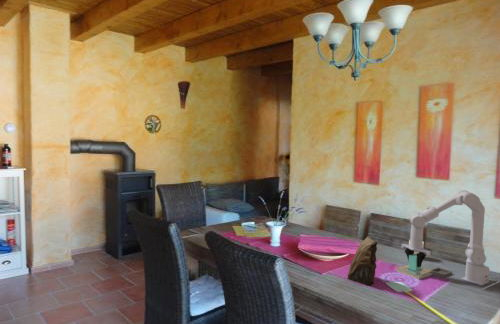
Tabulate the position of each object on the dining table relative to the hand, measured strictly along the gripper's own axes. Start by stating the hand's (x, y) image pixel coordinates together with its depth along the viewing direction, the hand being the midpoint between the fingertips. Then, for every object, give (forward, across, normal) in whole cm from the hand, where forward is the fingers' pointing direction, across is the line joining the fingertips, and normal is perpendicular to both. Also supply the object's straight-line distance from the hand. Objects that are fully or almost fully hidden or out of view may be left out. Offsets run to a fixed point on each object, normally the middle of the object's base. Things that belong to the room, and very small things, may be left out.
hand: (414, 265), depth 183 cm
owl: (+5, -9, -30) cm, 32 cm away
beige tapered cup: (+5, -14, +24) cm, 28 cm away
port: (+4, 0, 0) cm, 4 cm away
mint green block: (+2, 0, 0) cm, 2 cm away
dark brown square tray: (+4, +7, +12) cm, 15 cm away
